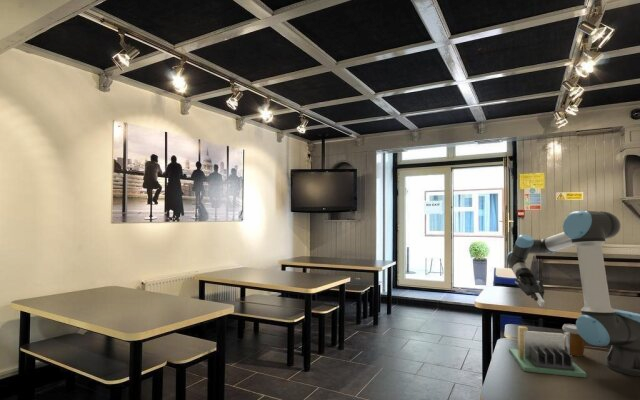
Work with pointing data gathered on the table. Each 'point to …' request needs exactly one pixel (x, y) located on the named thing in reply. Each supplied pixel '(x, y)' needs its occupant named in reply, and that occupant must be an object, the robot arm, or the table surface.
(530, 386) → the table surface
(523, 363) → the motherboard
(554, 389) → the table surface
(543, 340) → the grey flat slab
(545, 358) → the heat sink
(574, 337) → the disposable coffee cup
